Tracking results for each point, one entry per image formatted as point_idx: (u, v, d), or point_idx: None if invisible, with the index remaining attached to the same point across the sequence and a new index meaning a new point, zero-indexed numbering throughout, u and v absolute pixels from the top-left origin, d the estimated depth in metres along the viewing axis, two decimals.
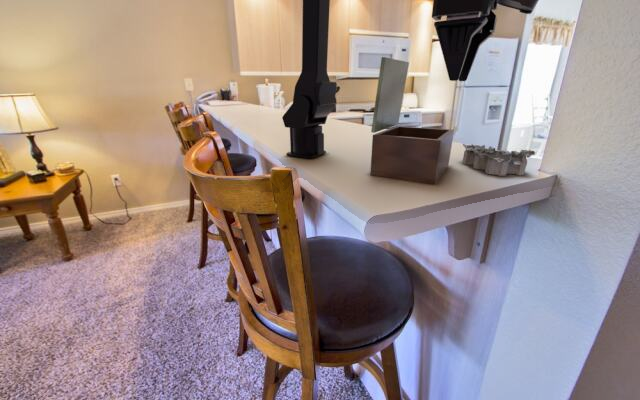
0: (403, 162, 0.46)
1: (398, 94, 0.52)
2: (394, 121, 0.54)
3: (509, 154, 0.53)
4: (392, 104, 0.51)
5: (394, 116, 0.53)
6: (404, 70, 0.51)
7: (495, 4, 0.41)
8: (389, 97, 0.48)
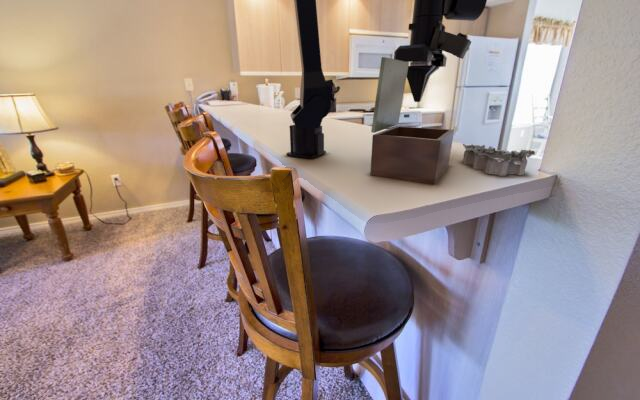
0: (403, 162, 0.46)
1: (398, 94, 0.52)
2: (394, 121, 0.54)
3: (509, 154, 0.53)
4: (392, 104, 0.51)
5: (394, 116, 0.53)
6: (404, 70, 0.51)
7: (440, 50, 0.60)
8: (389, 97, 0.48)
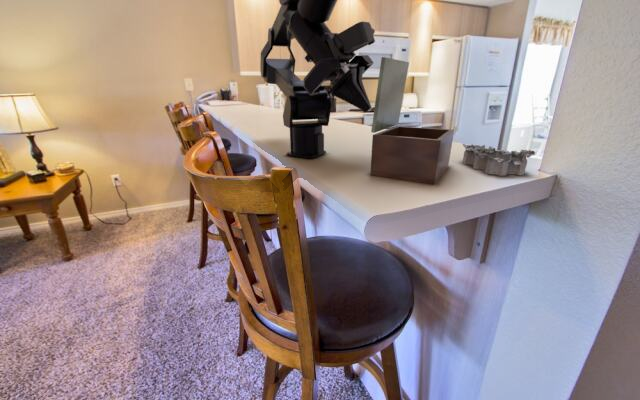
0: (403, 162, 0.46)
1: (398, 94, 0.52)
2: (394, 121, 0.54)
3: (509, 154, 0.53)
4: (392, 104, 0.51)
5: (394, 116, 0.53)
6: (404, 70, 0.51)
7: (351, 53, 0.53)
8: (389, 97, 0.48)
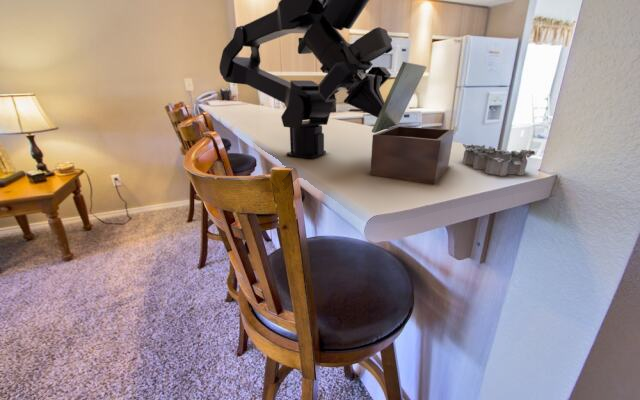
0: (403, 162, 0.46)
1: (407, 97, 0.51)
2: (395, 122, 0.54)
3: (509, 154, 0.53)
4: (398, 106, 0.50)
5: (396, 118, 0.53)
6: (420, 74, 0.50)
7: (368, 62, 0.52)
8: (398, 100, 0.48)
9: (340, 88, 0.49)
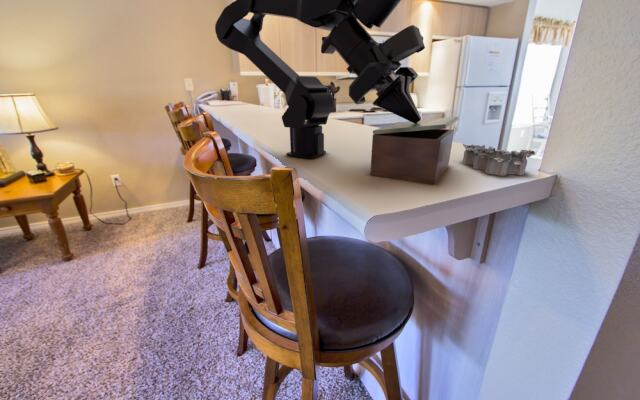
0: (403, 162, 0.46)
1: None
2: None
3: (509, 154, 0.53)
4: None
5: None
6: None
7: (397, 62, 0.49)
8: None
9: (370, 89, 0.47)
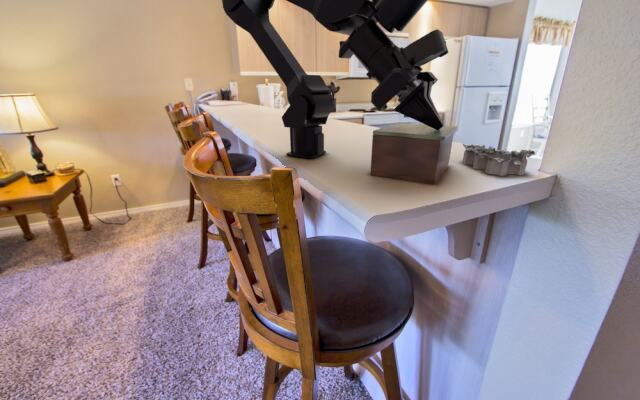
0: (403, 162, 0.46)
1: None
2: None
3: (509, 154, 0.53)
4: None
5: None
6: None
7: (418, 67, 0.48)
8: None
9: None
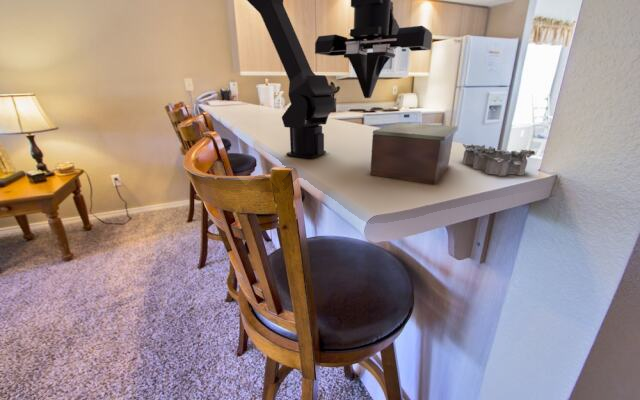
0: (403, 162, 0.46)
1: None
2: None
3: (509, 154, 0.53)
4: None
5: None
6: None
7: None
8: None
9: (393, 40, 0.45)
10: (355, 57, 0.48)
